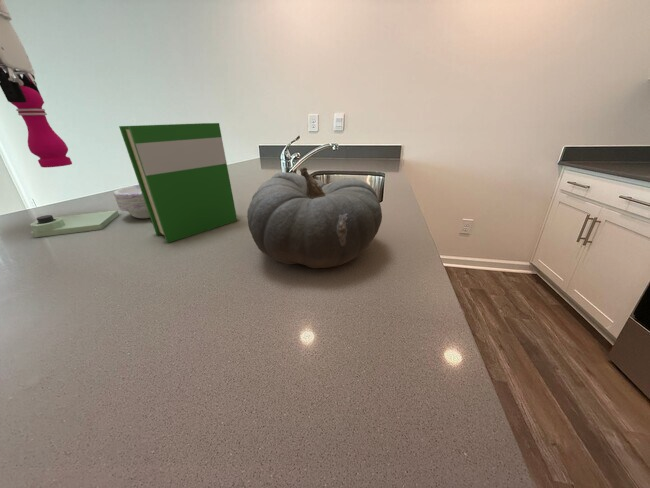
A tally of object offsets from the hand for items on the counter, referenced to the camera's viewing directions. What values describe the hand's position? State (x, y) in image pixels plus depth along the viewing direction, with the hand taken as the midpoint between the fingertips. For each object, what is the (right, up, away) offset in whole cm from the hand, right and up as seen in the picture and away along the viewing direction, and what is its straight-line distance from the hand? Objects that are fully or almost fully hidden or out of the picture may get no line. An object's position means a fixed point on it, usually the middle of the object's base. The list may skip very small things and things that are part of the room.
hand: (27, 102), depth 63 cm
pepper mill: (0, -14, +7) cm, 15 cm away
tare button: (+3, -29, +2) cm, 29 cm away
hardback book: (+40, -30, +4) cm, 51 cm away
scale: (+6, -29, +7) cm, 31 cm away
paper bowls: (+22, -26, +14) cm, 37 cm away
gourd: (+71, -36, -9) cm, 80 cm away
